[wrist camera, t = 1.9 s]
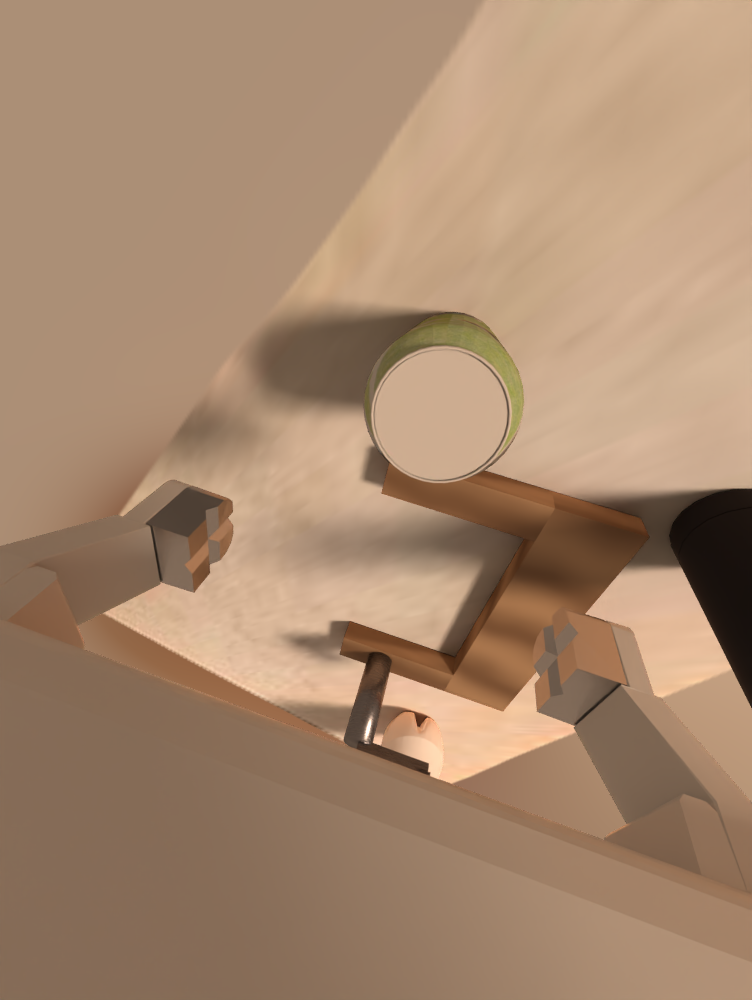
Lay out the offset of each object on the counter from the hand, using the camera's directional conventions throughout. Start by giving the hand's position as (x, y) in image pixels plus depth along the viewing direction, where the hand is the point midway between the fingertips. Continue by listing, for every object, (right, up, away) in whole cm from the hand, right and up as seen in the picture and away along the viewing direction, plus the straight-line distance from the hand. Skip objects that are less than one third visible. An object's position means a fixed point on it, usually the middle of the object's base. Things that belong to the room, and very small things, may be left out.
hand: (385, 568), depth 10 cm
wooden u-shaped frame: (+7, -6, +25) cm, 27 cm away
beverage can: (+4, +10, +14) cm, 18 cm away
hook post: (+3, -14, +32) cm, 35 cm away
